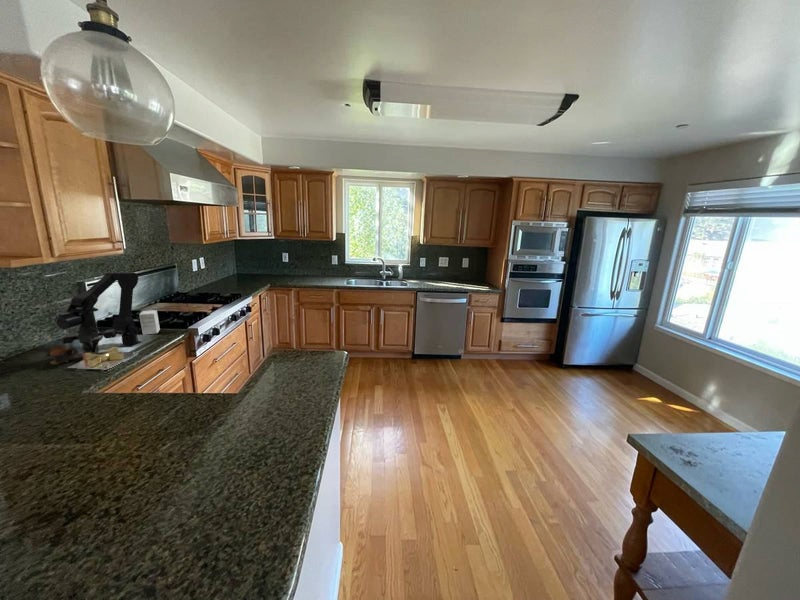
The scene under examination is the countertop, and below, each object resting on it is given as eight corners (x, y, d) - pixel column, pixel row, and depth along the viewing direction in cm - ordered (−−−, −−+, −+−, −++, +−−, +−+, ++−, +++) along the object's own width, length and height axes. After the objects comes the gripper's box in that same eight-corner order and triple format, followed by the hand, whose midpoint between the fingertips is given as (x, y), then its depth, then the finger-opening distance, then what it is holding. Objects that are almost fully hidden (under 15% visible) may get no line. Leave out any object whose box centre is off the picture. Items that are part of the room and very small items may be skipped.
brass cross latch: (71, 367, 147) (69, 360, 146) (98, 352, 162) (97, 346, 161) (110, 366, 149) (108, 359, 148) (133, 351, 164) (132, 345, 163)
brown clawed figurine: (42, 368, 149) (37, 351, 150) (57, 369, 158) (52, 353, 159) (74, 358, 153) (69, 342, 154) (87, 359, 162) (82, 343, 163)
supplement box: (145, 330, 197) (142, 310, 194) (160, 329, 200) (157, 309, 197) (142, 334, 191) (138, 314, 188) (157, 333, 194) (154, 313, 191)
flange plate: (101, 353, 165) (101, 350, 164) (138, 354, 165) (137, 351, 164) (66, 370, 147) (65, 366, 147) (107, 371, 147) (106, 367, 147)
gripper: (53, 330, 143) (62, 363, 147) (109, 324, 152) (115, 355, 156) (62, 323, 152) (70, 353, 156) (114, 317, 162) (120, 347, 166)
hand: (94, 352), depth 158 cm, fingers closed
